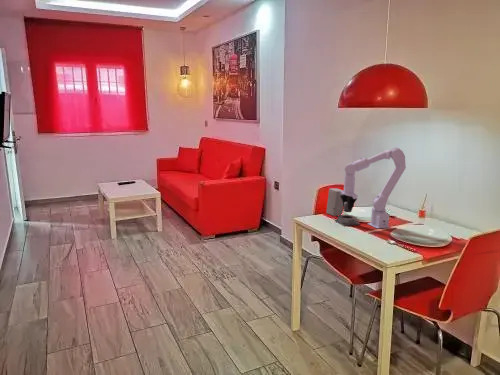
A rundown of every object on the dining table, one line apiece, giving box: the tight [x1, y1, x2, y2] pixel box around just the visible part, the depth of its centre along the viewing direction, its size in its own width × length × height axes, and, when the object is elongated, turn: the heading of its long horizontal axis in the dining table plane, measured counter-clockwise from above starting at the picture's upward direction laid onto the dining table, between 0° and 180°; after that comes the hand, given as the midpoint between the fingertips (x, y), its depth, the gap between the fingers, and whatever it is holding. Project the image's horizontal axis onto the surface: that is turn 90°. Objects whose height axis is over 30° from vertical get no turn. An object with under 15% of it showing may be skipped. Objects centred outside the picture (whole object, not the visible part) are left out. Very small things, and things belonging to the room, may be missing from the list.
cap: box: [343, 202, 353, 213], centre depth 218 cm, size 4×4×5 cm
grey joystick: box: [334, 214, 361, 227], centre depth 220 cm, size 10×10×4 cm
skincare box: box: [326, 187, 344, 217], centre depth 237 cm, size 8×7×16 cm
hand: (347, 208), depth 218 cm, fingers closed on cap, 4 cm apart
